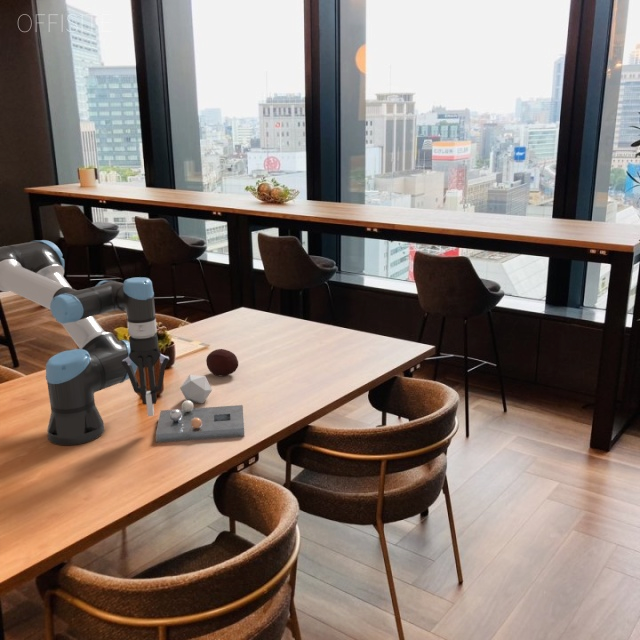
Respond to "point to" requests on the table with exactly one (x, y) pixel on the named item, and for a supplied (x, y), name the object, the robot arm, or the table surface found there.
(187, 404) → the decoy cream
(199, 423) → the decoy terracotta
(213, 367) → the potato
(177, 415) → the steel ball
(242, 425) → the grey board with recess
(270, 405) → the table surface
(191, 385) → the die
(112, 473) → the table surface
